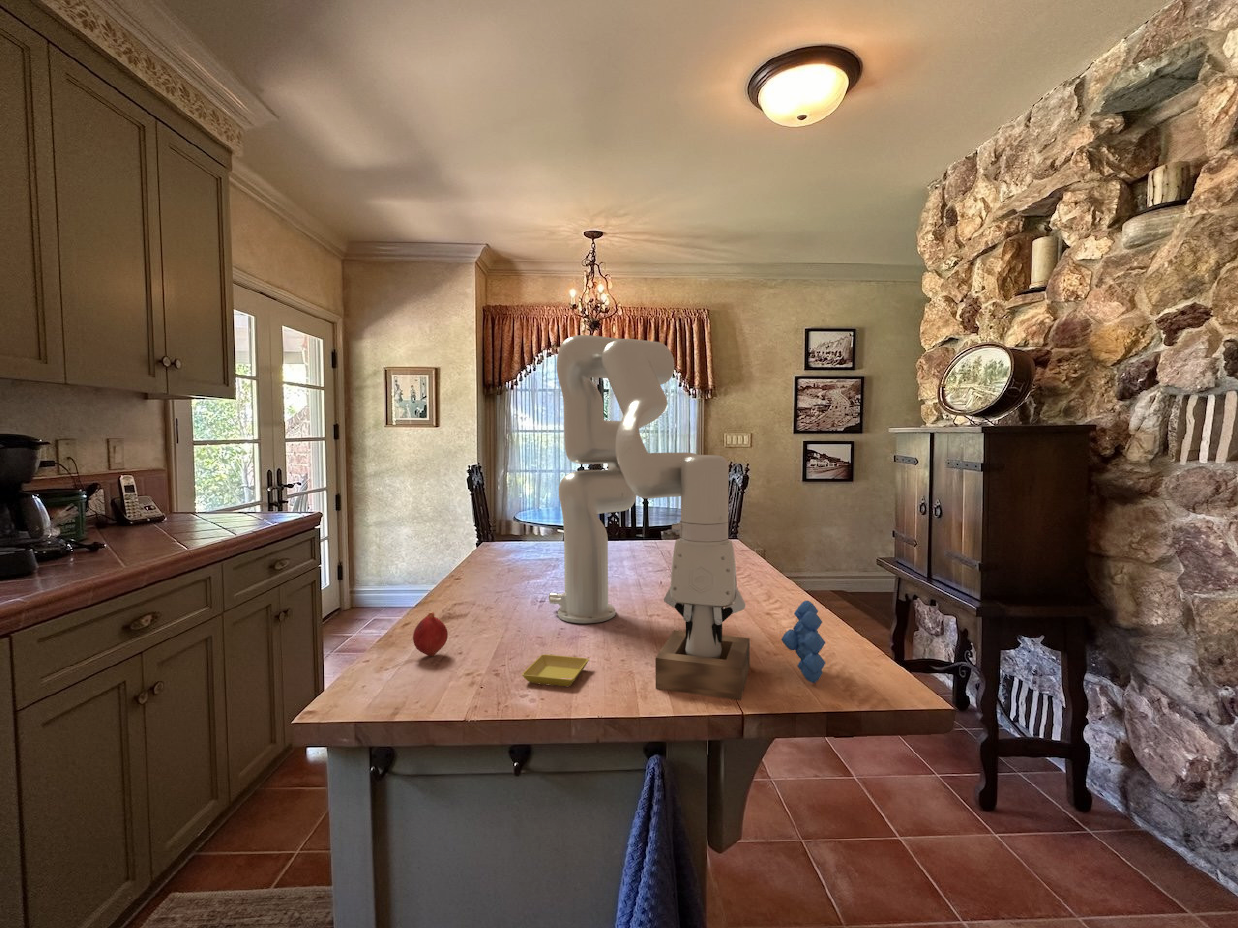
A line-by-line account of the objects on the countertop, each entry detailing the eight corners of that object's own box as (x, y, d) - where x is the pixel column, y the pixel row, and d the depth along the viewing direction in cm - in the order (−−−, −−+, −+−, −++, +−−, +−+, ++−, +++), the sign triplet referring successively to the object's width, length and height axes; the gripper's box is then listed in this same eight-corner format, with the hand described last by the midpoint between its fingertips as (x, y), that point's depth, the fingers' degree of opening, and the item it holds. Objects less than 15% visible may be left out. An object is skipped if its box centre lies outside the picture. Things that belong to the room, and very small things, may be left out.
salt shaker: (721, 672, 88) (721, 590, 87) (684, 669, 89) (684, 588, 89) (721, 657, 94) (722, 580, 93) (687, 655, 95) (687, 578, 94)
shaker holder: (655, 688, 87) (655, 657, 87) (674, 657, 100) (674, 630, 99) (741, 700, 83) (741, 668, 83) (749, 665, 96) (749, 638, 95)
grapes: (775, 661, 98) (775, 592, 97) (815, 662, 97) (816, 593, 96) (786, 690, 86) (787, 613, 86) (833, 693, 85) (833, 614, 85)
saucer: (572, 692, 87) (572, 679, 87) (520, 687, 89) (520, 673, 89) (590, 670, 95) (589, 658, 95) (542, 665, 97) (542, 653, 97)
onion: (416, 665, 97) (414, 619, 97) (411, 653, 102) (410, 610, 102) (450, 658, 100) (449, 614, 99) (444, 648, 105) (443, 605, 104)
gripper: (648, 533, 89) (648, 647, 90) (754, 539, 84) (753, 659, 85) (660, 526, 97) (660, 631, 97) (758, 530, 91) (757, 642, 92)
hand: (703, 643), depth 91 cm, fingers closed on salt shaker, 3 cm apart
